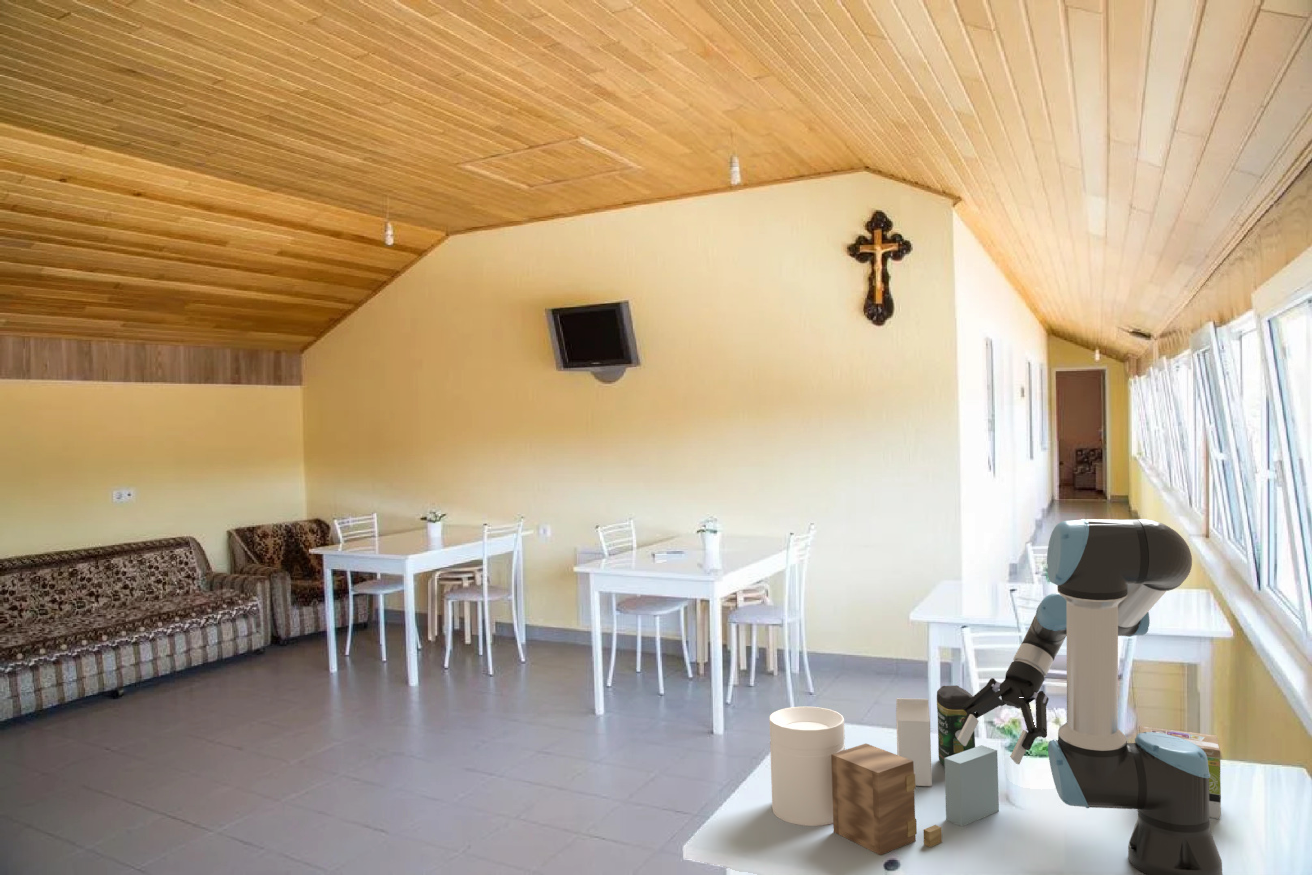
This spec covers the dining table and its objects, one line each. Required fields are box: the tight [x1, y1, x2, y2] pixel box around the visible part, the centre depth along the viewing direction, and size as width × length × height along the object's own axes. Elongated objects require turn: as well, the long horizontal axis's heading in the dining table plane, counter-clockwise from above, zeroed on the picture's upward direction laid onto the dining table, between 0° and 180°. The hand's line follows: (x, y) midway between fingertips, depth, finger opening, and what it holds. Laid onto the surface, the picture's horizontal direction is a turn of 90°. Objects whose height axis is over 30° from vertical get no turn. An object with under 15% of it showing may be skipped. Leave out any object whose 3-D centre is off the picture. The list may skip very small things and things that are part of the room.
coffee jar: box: [936, 684, 976, 767], centre depth 222 cm, size 10×8×19 cm
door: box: [944, 745, 1000, 827], centre depth 194 cm, size 4×12×13 cm, turn 123°
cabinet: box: [831, 743, 943, 856], centre depth 186 cm, size 16×14×16 cm
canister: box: [769, 706, 846, 827], centre depth 200 cm, size 16×16×20 cm
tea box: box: [1138, 725, 1222, 820], centre depth 196 cm, size 15×10×15 cm
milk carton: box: [895, 697, 933, 787], centre depth 214 cm, size 7×7×19 cm
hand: (987, 751), depth 199 cm, fingers open, 13 cm apart
